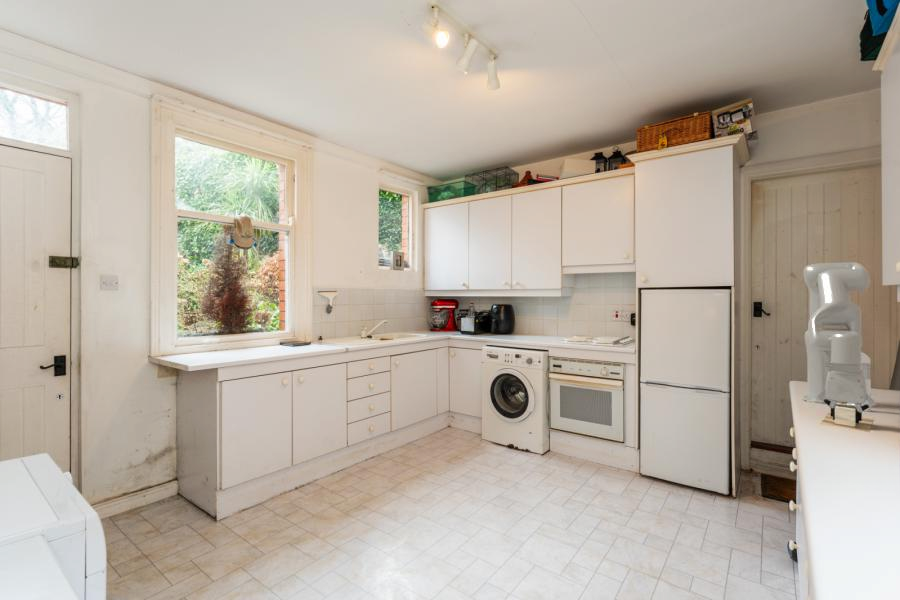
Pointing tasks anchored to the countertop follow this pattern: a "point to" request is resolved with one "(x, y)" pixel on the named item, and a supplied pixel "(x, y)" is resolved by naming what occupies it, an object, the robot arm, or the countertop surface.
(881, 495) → the countertop surface
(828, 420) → the oak board
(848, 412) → the block
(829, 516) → the countertop surface
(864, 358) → the water bottle
